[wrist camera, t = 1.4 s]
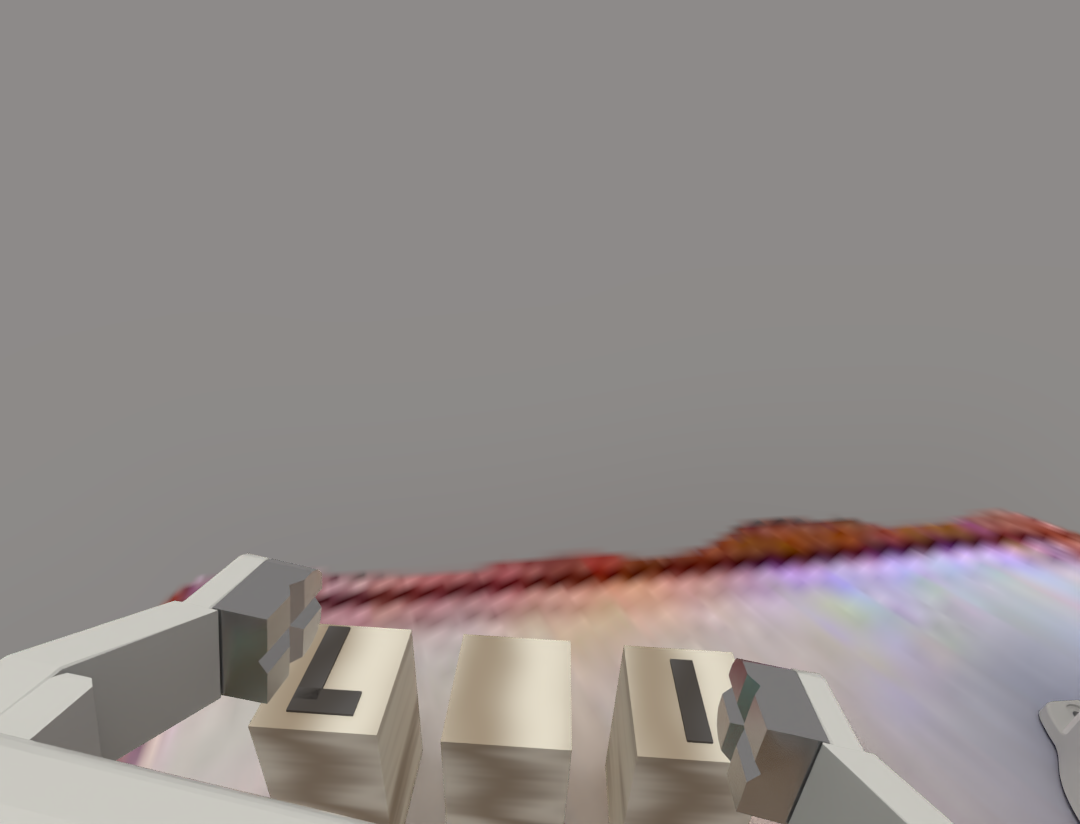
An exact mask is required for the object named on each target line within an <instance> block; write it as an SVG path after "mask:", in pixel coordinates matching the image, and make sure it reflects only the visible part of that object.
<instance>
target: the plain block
mask: <svg viewBox="0 0 1080 824" xmlns="http://www.w3.org/2000/svg"><path fill="white" fill-rule="evenodd" d="M571 753H572V732H571V646H570V641H560V640H544V639H529V638H513V637H498V636H482V635H467V634H464V636H463V640H462V645H461V649H460V654H459V659H458V663H457V668H456V673H455V677H454V682H453V687H452V691H451V696H450V700H449V705H448V710H447V714H446V719H445V724H444V728H443V733H442V738H441V754H442V768H443V783H444V798H445V812H446V824H564V818H565V808H566V799H567V790H568V780H569V771H570V762H571Z"/></svg>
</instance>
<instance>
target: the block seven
mask: <svg viewBox="0 0 1080 824" xmlns="http://www.w3.org/2000/svg"><path fill="white" fill-rule="evenodd" d="M248 727H249V730H250V734H251V737H252V740H253V743H254V746H255V750H256V753H257V756H258V759H259V762H260V765H261V769H262V772H263V775H264V778H265V781H266V785H267V788H268V791H269V794H270V797H271V798H272V799H276V800H281V801H285V802H289V803H293V804H297V805H301V806H305V807H310V808H314V809H318V810H322V811H326V812H330V813H334V814H339V815H343V816H347V817H351V818H355V819H359V820H363V821H368V822H372V823H376V824H405V821H406V817H407V813H408V809H409V805H410V801H411V797H412V792H413V788H414V784H415V780H416V776H417V772H418V768H419V764H420V760H421V755H422V751H423V749H422V738H421V727H420V716H419V705H418V694H417V683H416V672H415V662H414V651H413V640H412V630H406V629H391V628H375V627H360V626H344V625H329V624H319V628H318V631H317V633H316V636H315V638H314V640H313V642H312V644H311V646H310V648H309V649H308V650H307V652H306V653H305V654H304V656H303V657H302V658H300V659H298V660H296V661H294V662H291V663H289V676H288V677H287V679H286V680H285V681H284V682H283V684H282V685H281V686H280V688H279V689H278V690H277V692H276V693H275V694H274V696H273V697H272V698H271V700H270V701H269V702H268V704H265V703H261V705H260V706H259V708H258V710H257V712H256V713H255V715H254V717H253V719H252V720H251V722H250V724H249V726H248Z"/></svg>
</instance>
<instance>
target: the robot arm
mask: <svg viewBox="0 0 1080 824" xmlns="http://www.w3.org/2000/svg"><path fill="white" fill-rule="evenodd" d="M321 589H322V573H321V572H320V571H319V570H318V569H314V568H310V567H305V566H301V565H297V564H293V563H288V562H284V561H280V560H276V559H269V558H266V557H261V556H257V555H253V554H244V555H241V556H239V557H238V558H237V559H235V560H234V561H233V562H232V563H231V564H229V565H228V566H227V567H226V568H224V569H223V570H222V571H221V572H219V573H218V574H217V575H216V576H214V577H213V578H212V579H211V580H210V581H208V582H207V583H206V584H205V585H203V586H202V587H201V588H200V589H198V590H197V591H196V592H195V593H193V594H192V595H191V596H190V597H189V598H187V599H186V600H185V601H184V602H178V601H172V602H169V603H166V604H163V605H160V606H157V607H154V608H151V609H148V610H145V611H142V612H139V613H136V614H133V615H130V616H127V617H124V618H121V619H118V620H114V621H111V622H108V623H105V624H102V625H99V626H96V627H93V628H90V629H87V630H84V631H81V632H78V633H75V634H72V635H69V636H66V637H63V638H59V639H56V640H53V641H50V642H47V643H44V644H41V645H38V646H35V647H32V648H29V649H26V650H23V651H20V652H17V653H14V654H11V655H8V656H6V657H4V658H3V659H1V660H0V824H376V823H372V822H368V821H363V820H359V819H355V818H351V817H347V816H343V815H339V814H334V813H330V812H326V811H322V810H318V809H314V808H310V807H305V806H301V805H297V804H293V803H289V802H285V801H281V800H276V799H272V798H268V797H264V796H260V795H256V794H252V793H247V792H243V791H239V790H235V789H231V788H227V787H223V786H219V785H214V784H210V783H206V782H202V781H198V780H194V779H190V778H185V777H181V776H177V775H173V774H169V773H165V772H161V771H156V770H152V769H148V768H144V767H140V766H136V765H132V764H127V763H123V762H119V761H116V760H117V759H119V758H121V757H122V756H124V755H126V754H127V753H129V752H131V751H132V750H134V749H136V748H137V747H139V746H141V745H142V744H144V743H146V742H147V741H149V740H151V739H152V738H154V737H156V736H157V735H159V734H161V733H162V732H164V731H166V730H167V729H169V728H171V727H173V726H174V725H176V724H178V723H179V722H181V721H183V720H184V719H186V718H188V717H189V716H191V715H193V714H194V713H196V712H198V711H199V710H201V709H203V708H204V707H206V706H208V705H209V704H211V703H213V702H214V701H216V700H218V699H219V698H221V695H224V696H229V697H235V698H240V699H245V700H250V701H255V702H260V703H265V704H268V702H269V701H270V700H271V698H272V697H273V696H274V694H275V693H276V692H277V690H278V689H279V688H280V686H281V685H282V684H283V682H284V681H285V680H286V679H287V677H288V676H289V663H291V662H294V661H296V660H298V659H300V658H302V657H303V656H304V654H305V653H306V652H307V650H308V649H309V648H310V646H311V644H312V642H313V640H314V638H315V636H316V633H317V631H318V628H319V623H320V619H321V606H320V605H319V603H318V601H317V600H316V598H315V596H316V595H317V593H318V592H319V591H320V590H321ZM729 678H730V682H731V685H732V688H730V689H729V690H727V691H726V692H724V693H723V694H722V696H721V700H720V703H719V706H718V714H717V733H718V740H719V744H720V749H721V751H722V752H723V753H724V754H725V756H726V757H727V758H728V759H729V760H730V761H731V762H730V765H729V768H728V771H727V777H728V781H729V785H730V789H731V793H732V797H733V801H734V805H735V809H736V812H739V813H743V814H747V815H751V816H755V817H758V818H762V819H766V820H770V821H774V822H778V823H781V824H954V823H952V822H951V821H950V820H949V819H948V818H947V817H946V816H944V815H943V814H942V813H941V812H940V811H939V810H938V809H936V808H935V807H934V806H933V805H932V804H931V803H929V802H928V801H927V800H926V799H925V798H924V797H923V796H921V795H920V794H919V793H918V792H917V791H916V790H915V789H913V788H912V787H911V786H910V785H909V784H908V783H906V782H905V781H904V780H903V779H902V778H901V777H900V776H898V775H897V774H896V773H895V772H894V771H893V770H892V769H890V768H889V767H888V766H887V765H886V764H885V763H883V762H882V761H881V760H880V759H879V758H878V757H877V756H875V755H874V754H872V753H867V752H864V750H863V748H862V746H861V744H860V743H859V741H858V739H857V737H856V735H855V733H854V732H853V730H852V728H851V726H850V724H849V722H848V720H847V719H846V717H845V715H844V713H843V711H842V709H841V708H840V706H839V704H838V702H837V700H836V698H835V697H834V695H833V693H832V691H831V689H830V687H829V685H828V684H827V682H826V680H825V679H824V678H823V677H822V676H821V675H820V674H818V673H812V672H807V671H801V670H796V669H786V668H782V667H777V666H772V665H767V664H762V663H757V662H752V661H748V660H743V659H738V658H737V659H736V660H735V661H734V663H733V664H732V666H731V669H730V672H729ZM1039 717H1040V720H1041V722H1042V724H1043V726H1044V728H1045V729H1046V731H1047V733H1048V735H1049V736H1050V738H1051V740H1052V741H1053V743H1054V744H1055V746H1056V749H1057V752H1058V758H1059V772H1060V778H1061V782H1062V786H1063V788H1064V791H1065V794H1066V796H1067V798H1068V801H1069V803H1070V805H1071V807H1072V809H1073V810H1074V812H1075V814H1076V816H1077V817H1078V819H1079V821H1080V700H1069V701H1052V702H1049V703H1047V704H1046V705H1045V706H1044V707H1043V708H1042V709H1041V710H1040V711H1039Z"/></svg>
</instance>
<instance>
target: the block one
mask: <svg viewBox="0 0 1080 824" xmlns="http://www.w3.org/2000/svg"><path fill="white" fill-rule="evenodd" d="M734 661H735V659H734V656H733V653H732V652H718V651H702V650H687V649H671V648H656V647H640V646H625V645H624V648H623V654H622V661H621V667H620V674H619V680H618V686H617V693H616V699H615V706H614V712H613V719H612V725H611V731H610V738H609V744H608V751H607V757H606V764H605V769H606V784H607V799H608V813H609V824H749V822H750V819H751V815H747V814H743V813H739V812H736V809H735V805H734V801H733V797H732V793H731V789H730V785H729V781H728V777H727V771H728V768H729V765H730V762H731V761H730V760H729V759H728V758H727V757H726V756H725V754H724V753H723V752H722V751H721V749H720V744H719V740H718V733H717V714H718V706H719V703H720V700H721V696H722V694H723V693H724V692H726V691H727V690H729V689H730V688H732V685H731V682H730V678H729V672H730V669H731V666H732V664H733V663H734Z"/></svg>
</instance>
